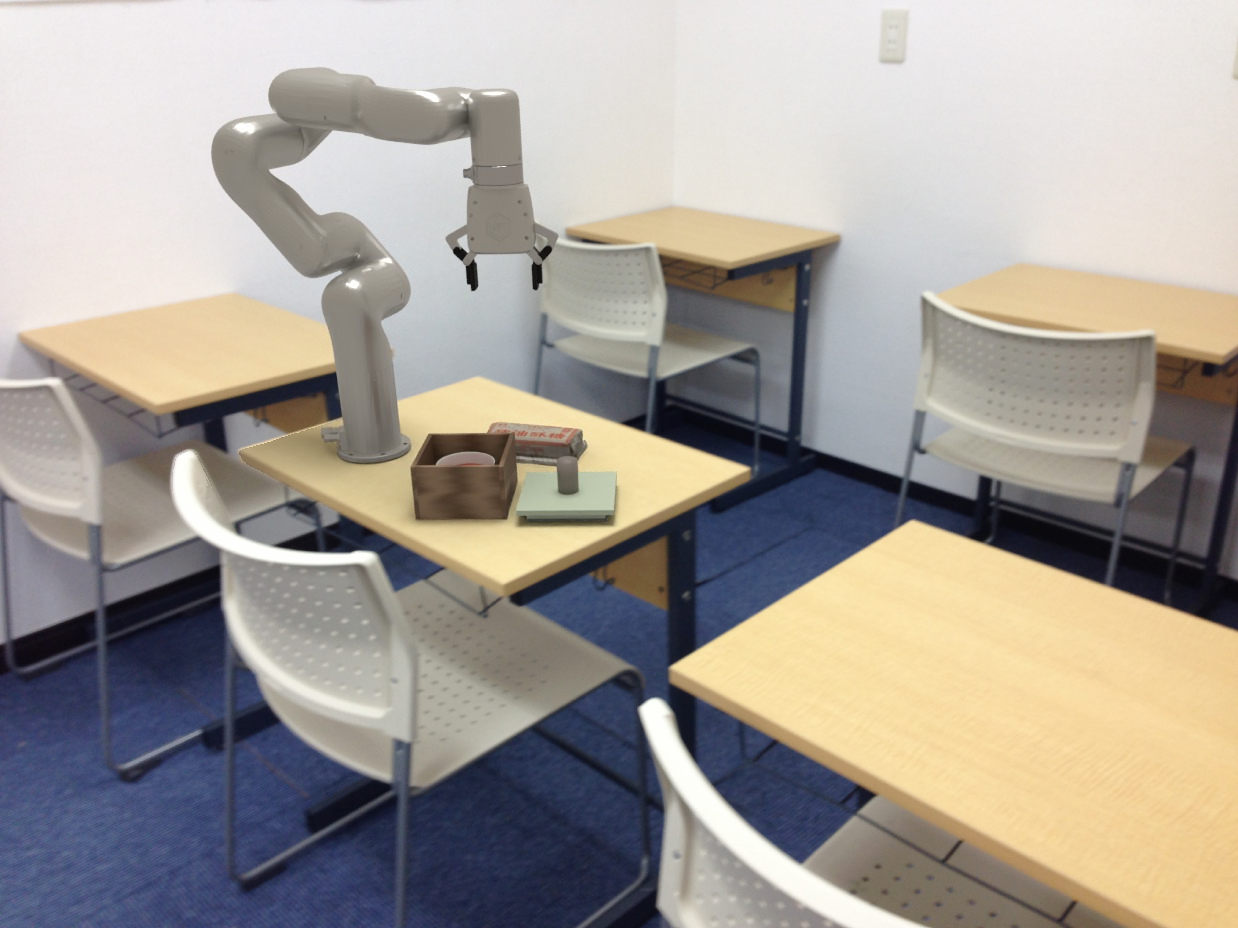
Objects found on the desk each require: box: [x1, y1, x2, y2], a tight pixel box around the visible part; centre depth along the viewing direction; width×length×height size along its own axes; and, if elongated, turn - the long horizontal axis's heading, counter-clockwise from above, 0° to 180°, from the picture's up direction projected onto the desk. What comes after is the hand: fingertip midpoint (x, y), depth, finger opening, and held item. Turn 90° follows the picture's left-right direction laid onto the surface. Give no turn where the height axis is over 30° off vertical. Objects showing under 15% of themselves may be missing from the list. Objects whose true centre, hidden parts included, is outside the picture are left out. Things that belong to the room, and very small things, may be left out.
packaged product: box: [486, 421, 589, 467], centre depth 180 cm, size 18×5×10 cm
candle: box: [436, 452, 495, 465], centre depth 162 cm, size 9×9×6 cm
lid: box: [515, 456, 618, 520], centre depth 159 cm, size 14×14×7 cm
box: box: [409, 432, 519, 520], centre depth 161 cm, size 14×14×8 cm
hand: (505, 288), depth 163 cm, fingers open, 9 cm apart
